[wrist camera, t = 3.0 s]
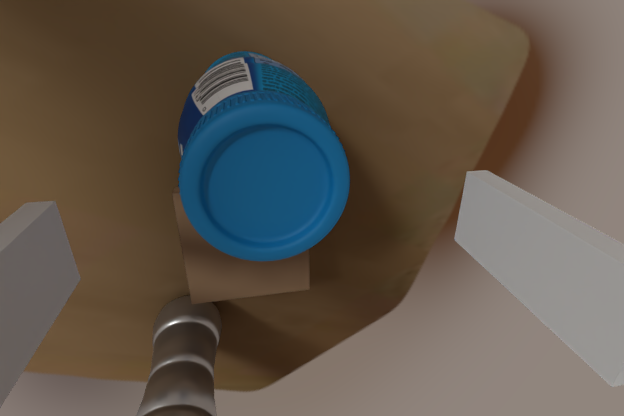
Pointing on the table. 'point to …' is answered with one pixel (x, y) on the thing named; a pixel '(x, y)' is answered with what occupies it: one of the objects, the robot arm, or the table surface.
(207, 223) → the blue lidded jar
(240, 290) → the brown piece
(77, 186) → the table surface
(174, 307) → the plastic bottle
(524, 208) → the robot arm
